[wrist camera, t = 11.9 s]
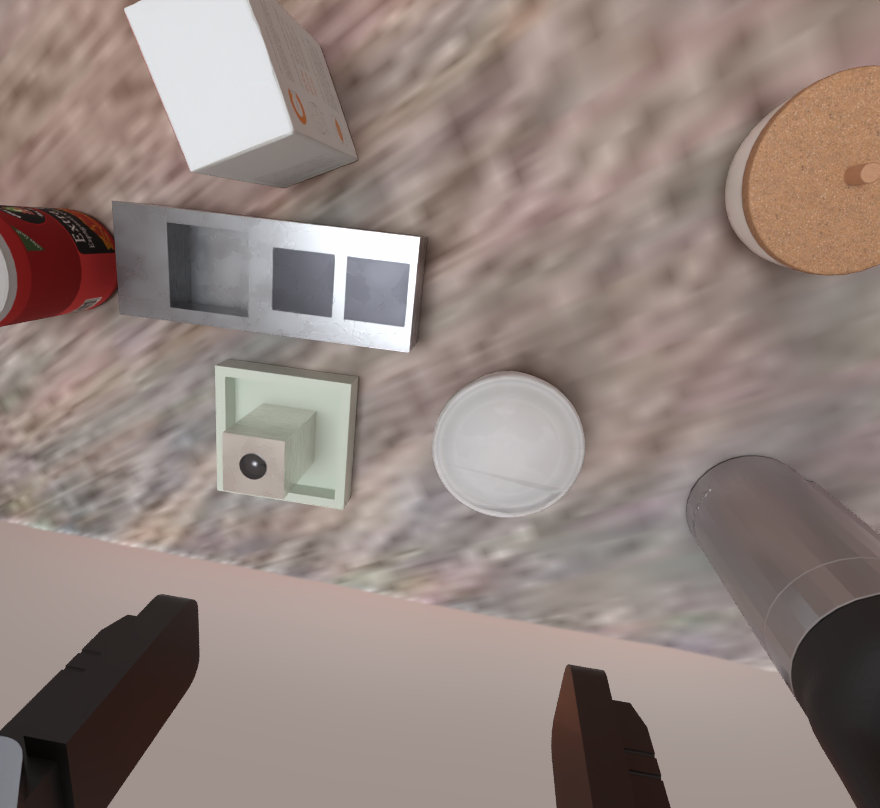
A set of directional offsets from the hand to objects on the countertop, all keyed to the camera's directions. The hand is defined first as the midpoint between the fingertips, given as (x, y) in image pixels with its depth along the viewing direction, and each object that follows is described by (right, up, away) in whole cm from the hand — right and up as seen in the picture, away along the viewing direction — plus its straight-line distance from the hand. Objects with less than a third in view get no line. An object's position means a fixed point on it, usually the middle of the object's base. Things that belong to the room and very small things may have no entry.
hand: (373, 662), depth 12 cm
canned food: (-28, +17, +33) cm, 46 cm away
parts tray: (-11, +3, +35) cm, 37 cm away
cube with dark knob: (-11, +3, +35) cm, 37 cm away
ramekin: (+7, +4, +33) cm, 34 cm away
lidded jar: (+25, +20, +26) cm, 41 cm away
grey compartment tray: (-11, +16, +31) cm, 37 cm away
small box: (-9, +26, +28) cm, 39 cm away
